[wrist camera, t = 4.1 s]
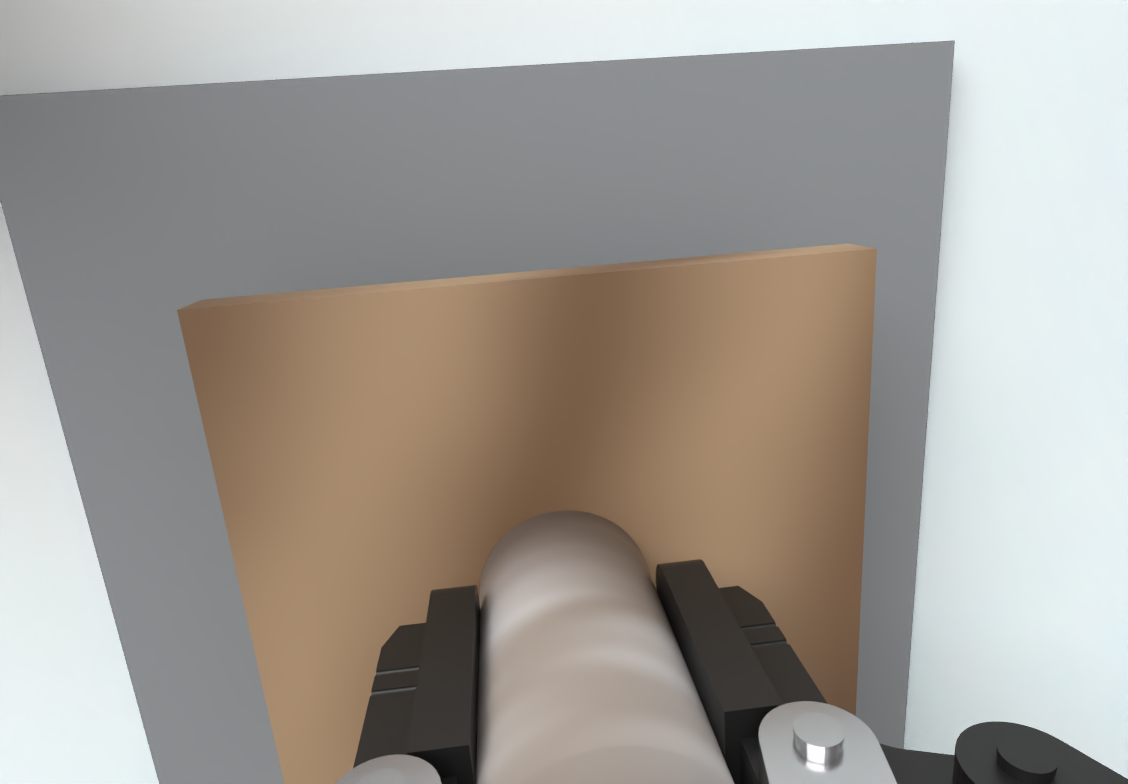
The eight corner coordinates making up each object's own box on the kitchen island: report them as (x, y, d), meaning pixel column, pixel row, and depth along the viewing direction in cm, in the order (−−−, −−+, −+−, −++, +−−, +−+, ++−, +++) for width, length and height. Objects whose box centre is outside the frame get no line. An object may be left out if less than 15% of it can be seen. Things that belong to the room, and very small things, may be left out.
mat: (939, 45, 15) (954, 40, 14) (890, 775, 20) (900, 790, 19) (-10, 100, 13) (-28, 97, 13) (197, 875, 18) (189, 894, 18)
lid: (848, 243, 13) (1183, 303, 7) (830, 756, 16) (1047, 1125, 10) (202, 300, 12) (-107, 427, 6) (315, 826, 15) (193, 1276, 9)
